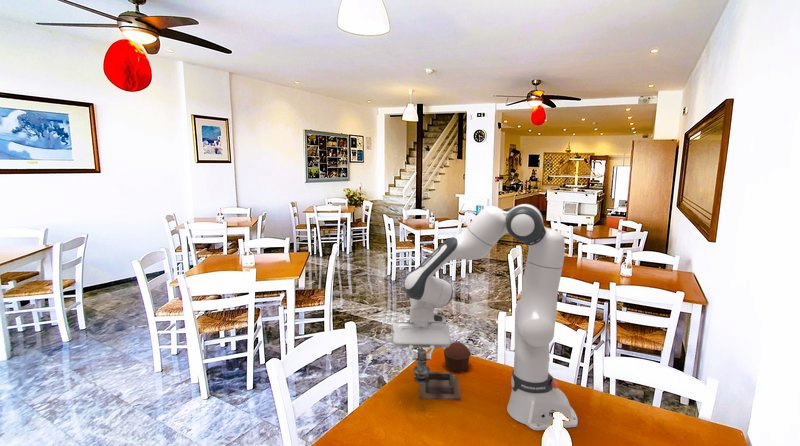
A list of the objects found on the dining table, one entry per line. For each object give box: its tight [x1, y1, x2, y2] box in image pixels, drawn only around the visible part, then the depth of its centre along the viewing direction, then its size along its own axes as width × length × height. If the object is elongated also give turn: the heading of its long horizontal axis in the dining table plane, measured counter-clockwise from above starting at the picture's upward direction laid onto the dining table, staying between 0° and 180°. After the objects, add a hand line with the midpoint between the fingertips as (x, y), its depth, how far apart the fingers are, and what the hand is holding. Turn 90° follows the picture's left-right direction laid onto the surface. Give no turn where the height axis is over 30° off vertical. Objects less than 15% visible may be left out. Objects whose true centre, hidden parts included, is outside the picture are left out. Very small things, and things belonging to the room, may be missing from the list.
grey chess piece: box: [412, 347, 431, 385], centre depth 134 cm, size 6×6×12 cm
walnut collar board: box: [418, 371, 462, 401], centre depth 148 cm, size 15×15×4 cm
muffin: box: [443, 341, 472, 373], centre depth 163 cm, size 12×11×10 cm
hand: (421, 359), depth 133 cm, fingers closed on grey chess piece, 4 cm apart
